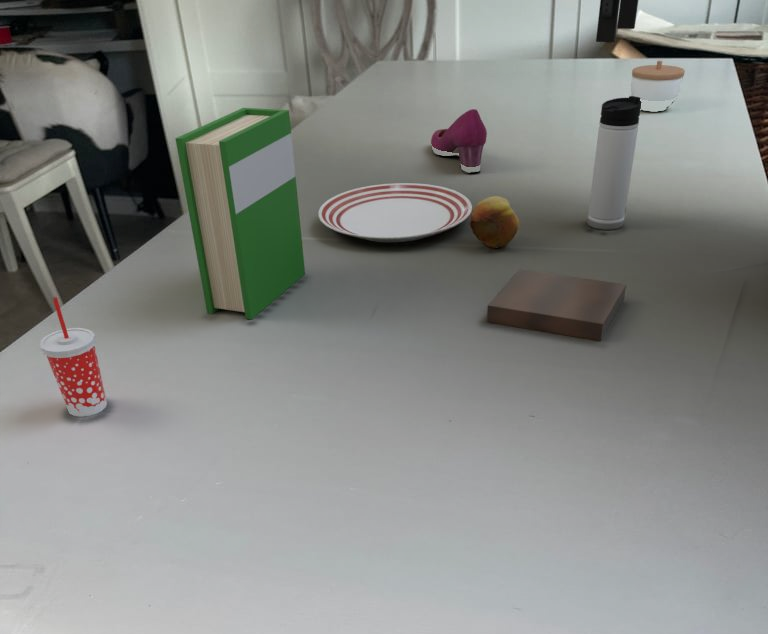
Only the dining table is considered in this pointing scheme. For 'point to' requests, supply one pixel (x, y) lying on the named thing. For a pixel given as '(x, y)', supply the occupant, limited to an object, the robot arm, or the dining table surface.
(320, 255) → the dining table surface
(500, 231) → the fruit
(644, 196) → the dining table surface
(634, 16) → the robot arm
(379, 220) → the dinner plate
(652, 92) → the lidded bowl
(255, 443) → the dining table surface
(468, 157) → the high heel
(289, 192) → the hardback book
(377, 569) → the dining table surface
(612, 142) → the travel mug
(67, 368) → the beverage cup
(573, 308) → the serving board
